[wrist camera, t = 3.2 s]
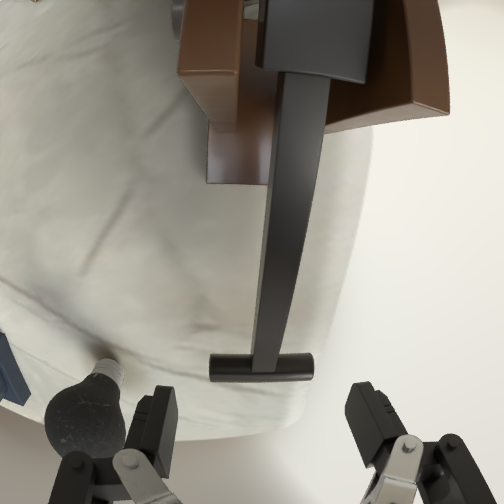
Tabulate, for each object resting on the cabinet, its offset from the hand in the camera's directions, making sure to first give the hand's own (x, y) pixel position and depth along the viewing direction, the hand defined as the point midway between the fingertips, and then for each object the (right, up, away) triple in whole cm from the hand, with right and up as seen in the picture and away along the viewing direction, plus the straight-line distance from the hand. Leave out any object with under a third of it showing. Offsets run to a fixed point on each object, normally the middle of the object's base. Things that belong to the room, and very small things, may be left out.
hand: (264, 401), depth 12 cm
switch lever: (0, +7, -2) cm, 8 cm away
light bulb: (-12, -2, +9) cm, 15 cm away
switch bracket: (0, +15, +4) cm, 16 cm away
